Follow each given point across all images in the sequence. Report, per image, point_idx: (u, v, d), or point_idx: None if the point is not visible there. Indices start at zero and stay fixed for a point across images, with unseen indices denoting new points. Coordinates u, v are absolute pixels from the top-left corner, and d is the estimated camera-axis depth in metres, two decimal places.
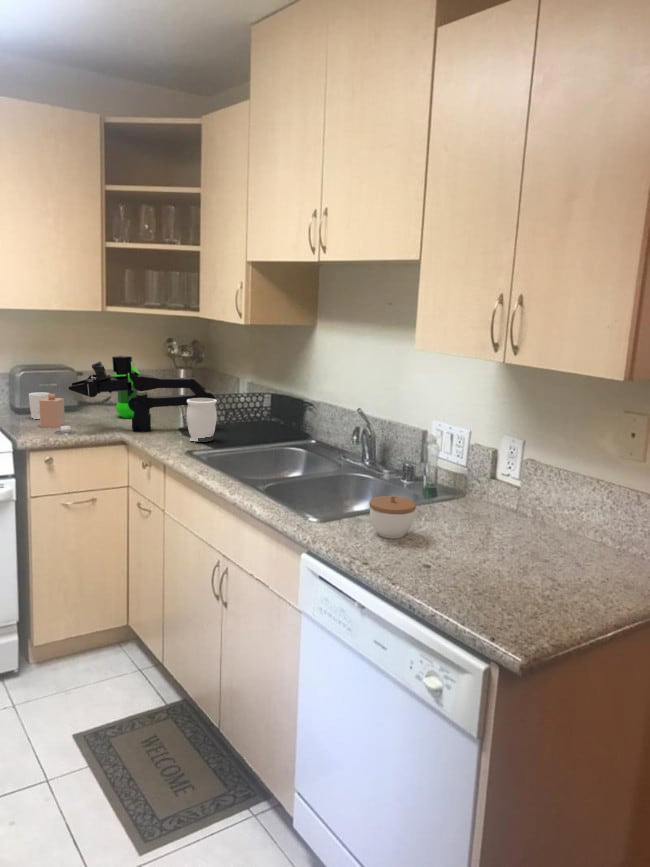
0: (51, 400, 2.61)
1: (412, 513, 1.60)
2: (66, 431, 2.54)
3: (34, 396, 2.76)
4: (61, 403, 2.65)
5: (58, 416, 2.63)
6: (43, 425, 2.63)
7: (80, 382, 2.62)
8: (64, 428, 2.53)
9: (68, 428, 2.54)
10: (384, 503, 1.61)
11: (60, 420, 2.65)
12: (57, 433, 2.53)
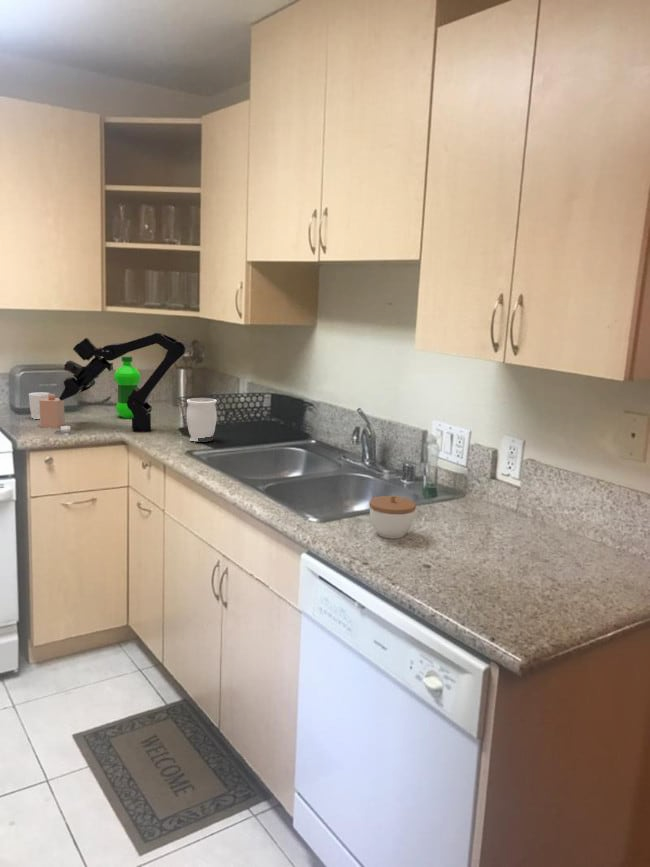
0: (51, 400, 2.61)
1: (412, 513, 1.60)
2: (66, 431, 2.54)
3: (34, 396, 2.76)
4: (61, 403, 2.65)
5: (58, 416, 2.63)
6: (43, 425, 2.63)
7: None
8: (64, 428, 2.53)
9: (68, 428, 2.54)
10: (384, 503, 1.61)
11: (60, 420, 2.65)
12: (57, 433, 2.53)
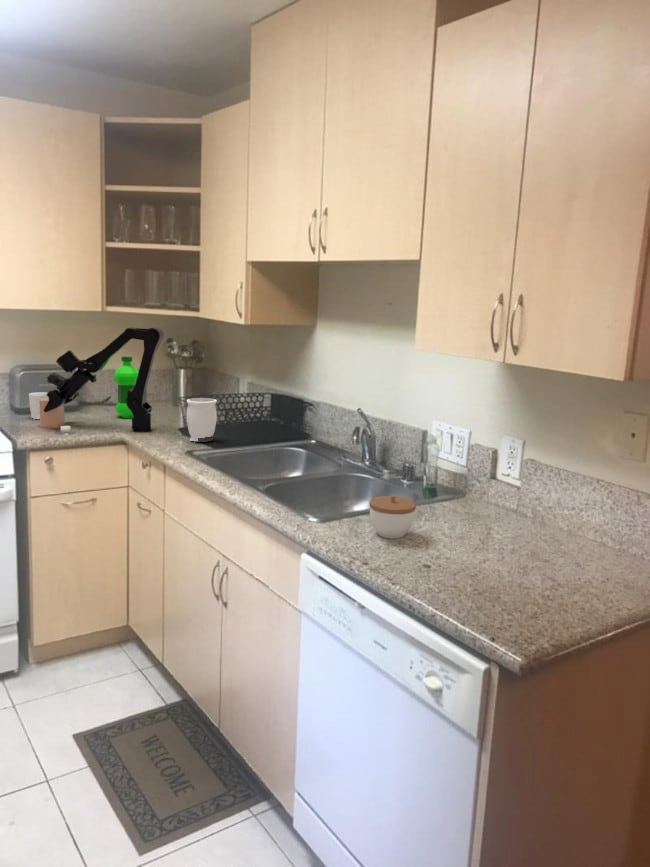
0: None
1: (412, 513, 1.60)
2: (66, 431, 2.54)
3: (34, 396, 2.76)
4: None
5: (58, 416, 2.63)
6: (43, 425, 2.63)
7: None
8: (64, 428, 2.53)
9: (68, 428, 2.54)
10: (384, 503, 1.61)
11: (60, 420, 2.65)
12: (57, 433, 2.53)
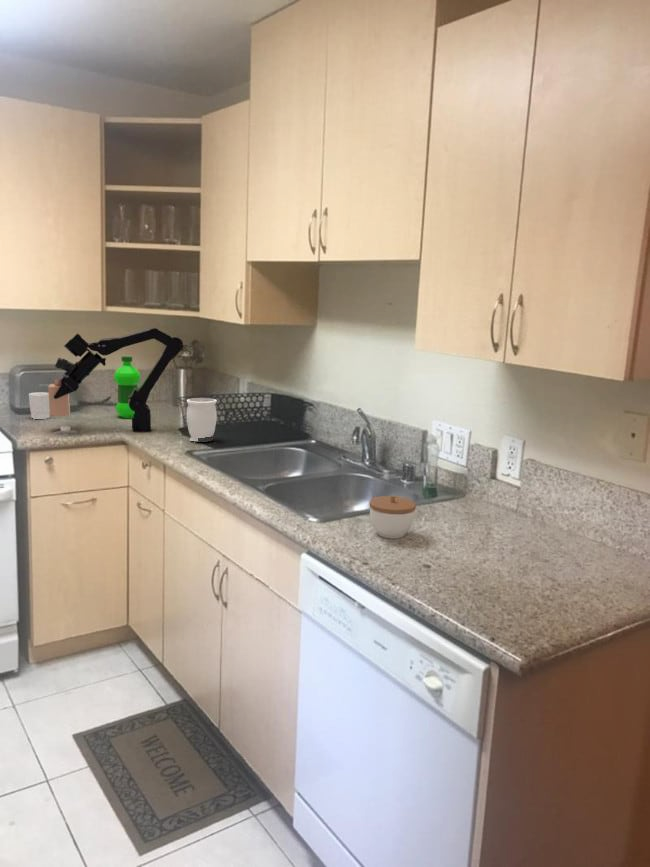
0: None
1: (412, 513, 1.60)
2: (66, 431, 2.54)
3: (34, 396, 2.76)
4: None
5: (68, 402, 2.54)
6: (52, 412, 2.53)
7: None
8: (64, 428, 2.53)
9: (68, 428, 2.54)
10: (384, 503, 1.61)
11: None
12: (57, 433, 2.53)
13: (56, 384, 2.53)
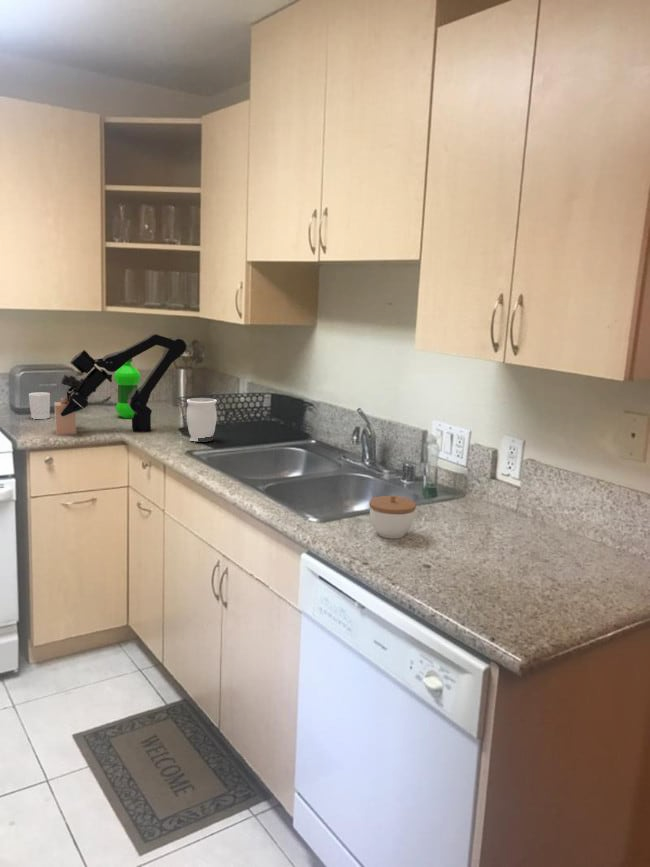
0: None
1: (412, 513, 1.60)
2: None
3: (34, 396, 2.76)
4: None
5: None
6: (59, 431, 2.51)
7: None
8: None
9: None
10: (384, 503, 1.61)
11: None
12: None
13: (62, 402, 2.52)
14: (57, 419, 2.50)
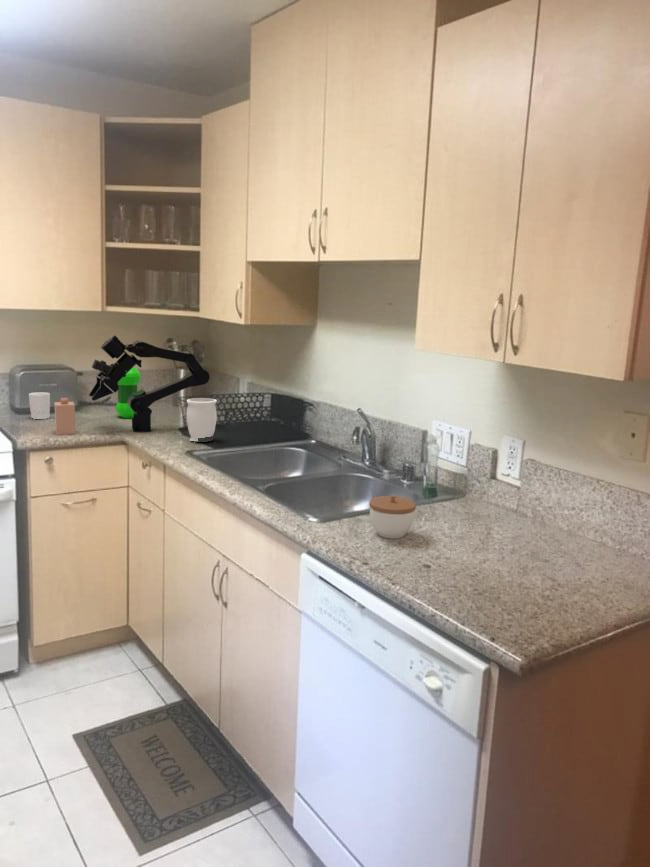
0: (67, 404, 2.51)
1: (412, 513, 1.60)
2: None
3: (34, 396, 2.76)
4: None
5: None
6: (59, 431, 2.51)
7: (94, 388, 2.61)
8: None
9: None
10: (384, 503, 1.61)
11: None
12: None
13: (62, 402, 2.52)
14: (57, 419, 2.50)
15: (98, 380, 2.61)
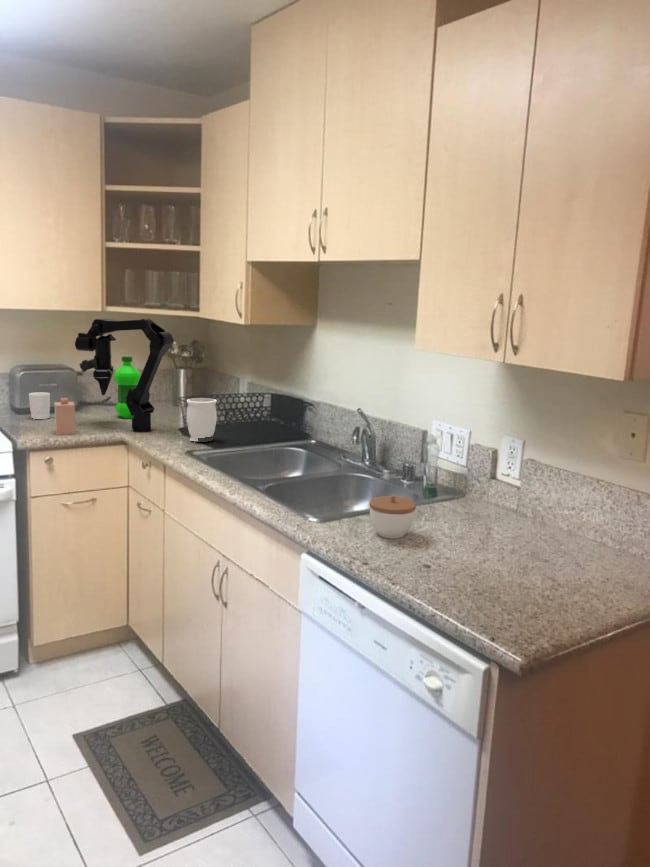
0: (67, 404, 2.51)
1: (412, 513, 1.60)
2: None
3: (34, 396, 2.76)
4: None
5: None
6: (59, 431, 2.51)
7: None
8: None
9: None
10: (384, 503, 1.61)
11: None
12: None
13: (62, 402, 2.52)
14: (57, 419, 2.50)
15: None
